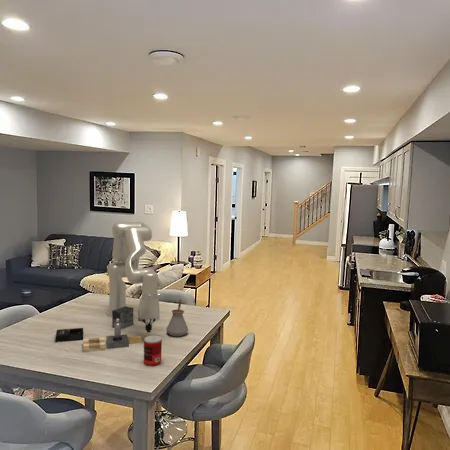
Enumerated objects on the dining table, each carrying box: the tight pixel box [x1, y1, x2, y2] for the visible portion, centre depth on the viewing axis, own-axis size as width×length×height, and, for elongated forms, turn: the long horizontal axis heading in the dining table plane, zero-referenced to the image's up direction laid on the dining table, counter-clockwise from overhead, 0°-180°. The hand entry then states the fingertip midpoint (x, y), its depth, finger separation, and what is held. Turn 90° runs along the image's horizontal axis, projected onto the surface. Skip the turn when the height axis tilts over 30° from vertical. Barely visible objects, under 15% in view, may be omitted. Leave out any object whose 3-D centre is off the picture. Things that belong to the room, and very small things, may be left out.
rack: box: [82, 336, 107, 353], centre depth 198 cm, size 10×10×3 cm
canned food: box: [143, 335, 163, 367], centre depth 183 cm, size 8×8×11 cm
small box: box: [111, 306, 134, 330], centre depth 227 cm, size 11×6×10 cm, turn 149°
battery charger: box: [55, 327, 84, 343], centre depth 208 cm, size 13×10×4 cm
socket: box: [105, 334, 130, 350], centre depth 202 cm, size 10×10×3 cm
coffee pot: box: [166, 299, 189, 338], centre depth 223 cm, size 21×12×15 cm, turn 1°
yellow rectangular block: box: [128, 335, 142, 345], centre depth 205 cm, size 3×6×3 cm, turn 109°
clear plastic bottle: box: [113, 318, 122, 341], centre depth 202 cm, size 3×3×13 cm
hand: (148, 331), depth 208 cm, fingers closed
